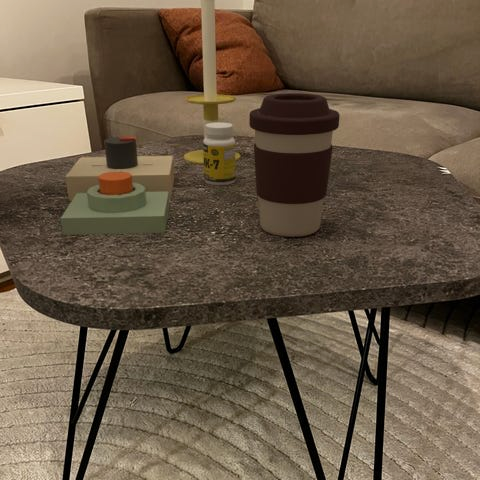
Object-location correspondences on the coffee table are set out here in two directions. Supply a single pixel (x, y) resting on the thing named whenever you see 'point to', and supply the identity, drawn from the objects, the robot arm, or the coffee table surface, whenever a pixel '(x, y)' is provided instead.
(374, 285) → the coffee table surface
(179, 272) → the coffee table surface
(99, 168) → the panel
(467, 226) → the coffee table surface
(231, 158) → the supplement bottle
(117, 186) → the power button
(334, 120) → the coffee cup
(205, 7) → the candle
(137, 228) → the button housing
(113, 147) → the knob
